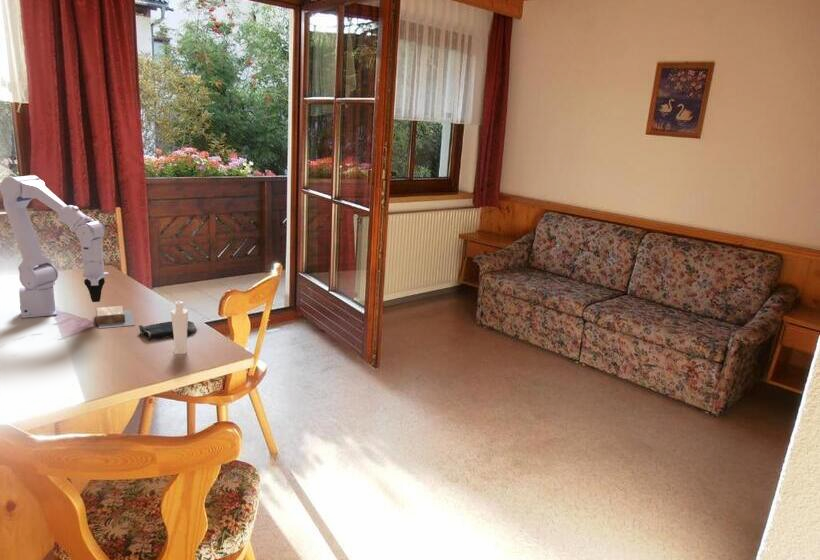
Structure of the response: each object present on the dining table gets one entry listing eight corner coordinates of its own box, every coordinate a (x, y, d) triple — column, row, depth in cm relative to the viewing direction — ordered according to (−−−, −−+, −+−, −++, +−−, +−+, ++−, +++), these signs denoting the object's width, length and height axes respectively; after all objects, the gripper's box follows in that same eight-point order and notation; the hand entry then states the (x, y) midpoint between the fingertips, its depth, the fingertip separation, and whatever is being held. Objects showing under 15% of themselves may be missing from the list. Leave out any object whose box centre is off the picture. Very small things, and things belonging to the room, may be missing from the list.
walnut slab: (96, 316, 178) (124, 313, 182) (95, 307, 186) (122, 305, 190) (96, 324, 179) (125, 321, 183) (96, 315, 187) (123, 312, 191)
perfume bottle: (179, 356, 162) (177, 305, 158) (169, 352, 164) (167, 302, 160) (192, 351, 166) (191, 302, 162) (183, 347, 168) (181, 298, 164)
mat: (99, 328, 177) (99, 328, 177) (97, 312, 190) (97, 311, 190) (134, 325, 181) (134, 324, 181) (131, 309, 195) (131, 309, 195)
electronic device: (151, 348, 170) (201, 332, 179) (146, 330, 168) (197, 315, 178) (141, 342, 177) (190, 326, 186) (137, 324, 175) (186, 310, 185)
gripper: (108, 264, 174) (111, 307, 177) (106, 254, 186) (109, 293, 189) (81, 266, 170) (85, 309, 174) (81, 254, 182) (85, 295, 186)
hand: (96, 301), depth 181 cm, fingers closed
